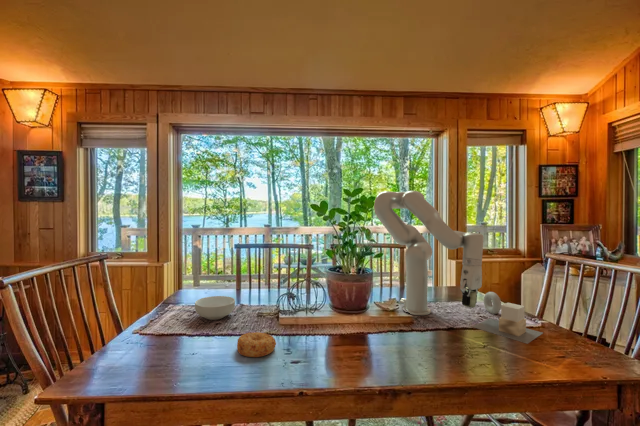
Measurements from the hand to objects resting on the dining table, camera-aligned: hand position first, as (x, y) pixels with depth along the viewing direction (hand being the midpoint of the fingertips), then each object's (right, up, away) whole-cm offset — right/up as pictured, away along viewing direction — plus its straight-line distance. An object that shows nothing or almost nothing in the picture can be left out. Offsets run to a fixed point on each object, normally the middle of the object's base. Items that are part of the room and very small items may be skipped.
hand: (469, 303), depth 138 cm
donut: (+15, -8, +9) cm, 19 cm away
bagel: (-86, -8, -29) cm, 91 cm away
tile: (+10, -8, -11) cm, 17 cm away
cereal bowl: (-110, -7, +3) cm, 110 cm away
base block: (+11, -7, -13) cm, 18 cm away
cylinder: (0, -1, 0) cm, 1 cm away
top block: (+11, -2, -13) cm, 17 cm away
